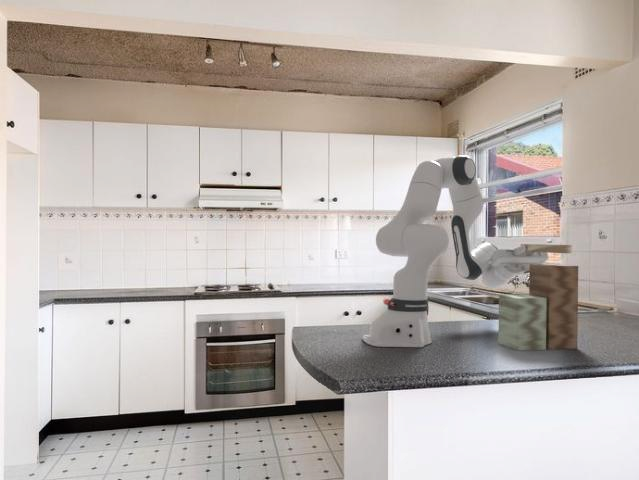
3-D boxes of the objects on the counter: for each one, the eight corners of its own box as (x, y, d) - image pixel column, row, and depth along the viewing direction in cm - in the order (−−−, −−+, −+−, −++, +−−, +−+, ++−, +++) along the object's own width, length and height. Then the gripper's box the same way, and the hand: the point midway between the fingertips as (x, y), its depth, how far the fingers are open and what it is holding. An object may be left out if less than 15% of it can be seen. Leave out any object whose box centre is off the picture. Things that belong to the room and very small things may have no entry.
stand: (516, 350, 139) (517, 265, 139) (498, 343, 149) (499, 264, 149) (577, 348, 143) (578, 266, 143) (555, 341, 153) (556, 264, 153)
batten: (563, 253, 140) (564, 244, 140) (520, 251, 162) (520, 244, 162) (571, 253, 141) (571, 244, 141) (527, 251, 162) (527, 244, 162)
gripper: (482, 256, 170) (500, 238, 158) (532, 257, 174) (553, 239, 162) (487, 272, 167) (505, 254, 155) (537, 272, 171) (559, 254, 159)
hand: (530, 246), depth 159 cm, fingers closed on batten, 3 cm apart
